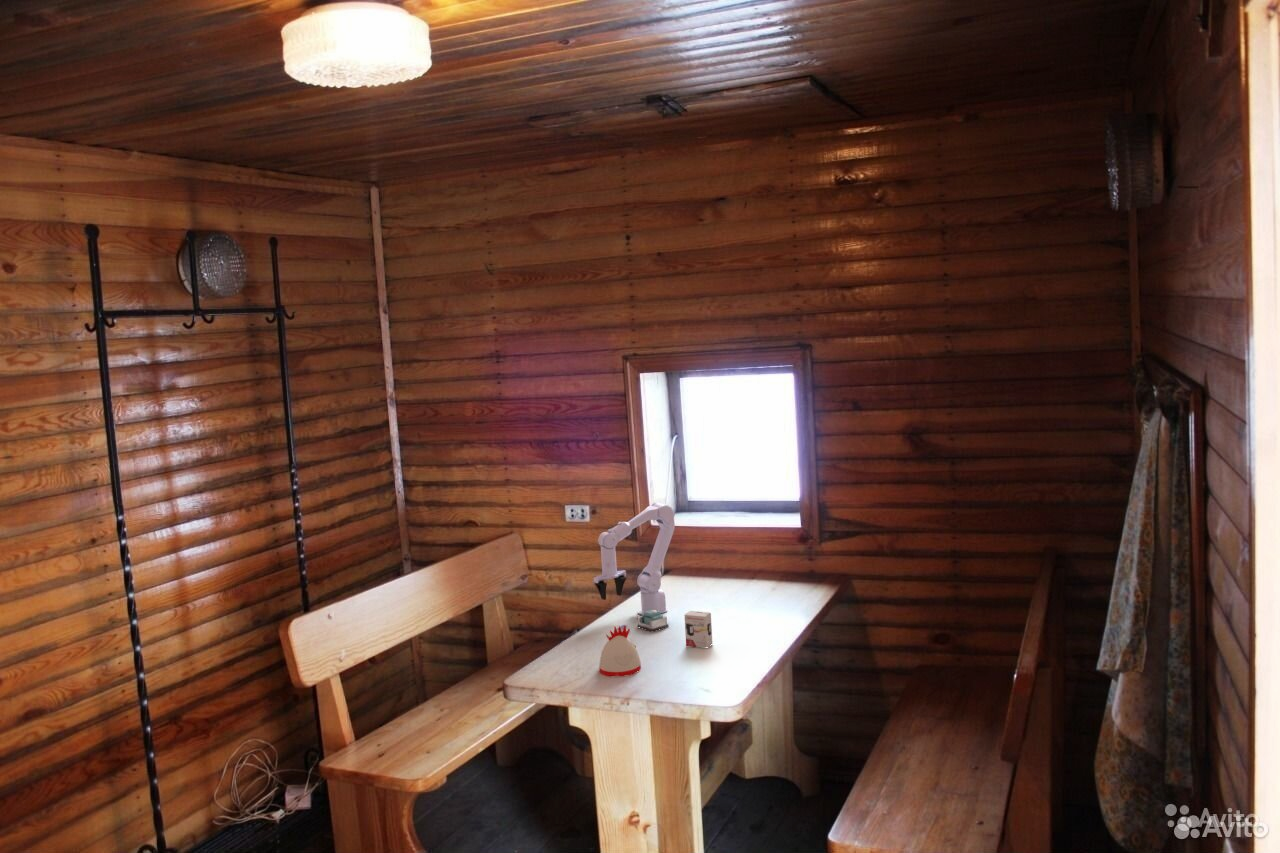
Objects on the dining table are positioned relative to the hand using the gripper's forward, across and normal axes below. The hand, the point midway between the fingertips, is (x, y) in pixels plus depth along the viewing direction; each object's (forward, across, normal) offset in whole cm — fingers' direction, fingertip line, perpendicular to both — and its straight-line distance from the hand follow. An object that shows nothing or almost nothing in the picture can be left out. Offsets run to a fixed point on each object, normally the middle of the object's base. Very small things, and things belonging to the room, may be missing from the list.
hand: (611, 597), depth 398 cm
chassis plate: (+9, +4, -19) cm, 22 cm away
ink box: (+10, +1, -49) cm, 50 cm away
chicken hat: (+10, -33, -47) cm, 58 cm away
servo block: (+8, +4, -19) cm, 21 cm away
